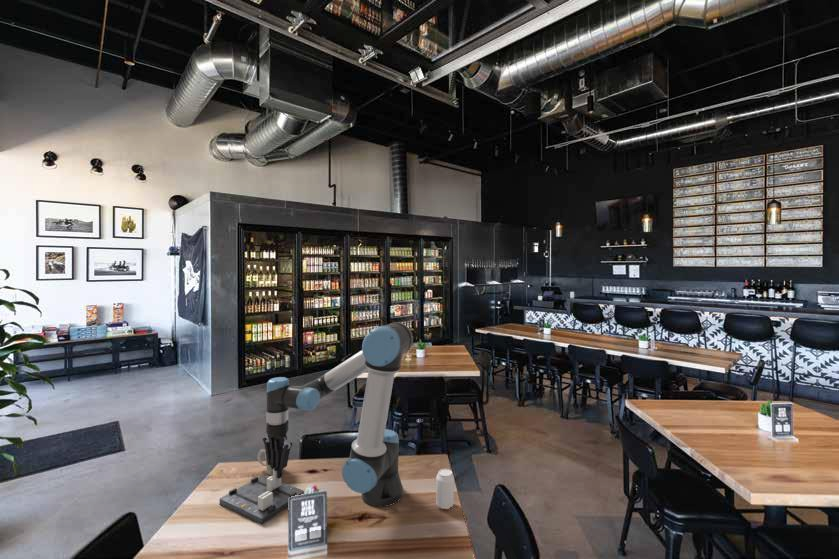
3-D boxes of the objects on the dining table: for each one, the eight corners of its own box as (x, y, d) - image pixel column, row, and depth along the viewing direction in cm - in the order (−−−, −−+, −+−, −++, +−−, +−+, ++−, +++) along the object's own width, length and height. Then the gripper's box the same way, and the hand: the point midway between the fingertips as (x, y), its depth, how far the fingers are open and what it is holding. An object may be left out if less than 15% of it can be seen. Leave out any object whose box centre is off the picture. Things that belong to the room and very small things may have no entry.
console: (304, 496, 137) (304, 488, 137) (261, 524, 121) (262, 515, 121) (263, 479, 147) (263, 472, 147) (219, 504, 131) (219, 495, 131)
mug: (278, 478, 149) (278, 453, 148) (250, 474, 151) (250, 449, 151) (290, 467, 157) (290, 443, 157) (263, 464, 159) (263, 440, 159)
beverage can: (457, 506, 132) (457, 472, 132) (446, 514, 127) (446, 479, 127) (443, 498, 136) (444, 465, 136) (432, 506, 131) (432, 472, 131)
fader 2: (280, 485, 139) (280, 474, 139) (271, 491, 136) (271, 480, 136) (275, 484, 140) (275, 473, 140) (266, 489, 137) (266, 478, 137)
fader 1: (272, 504, 128) (272, 492, 128) (262, 510, 124) (262, 498, 124) (267, 502, 129) (267, 490, 129) (257, 508, 126) (257, 496, 125)
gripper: (298, 421, 137) (297, 485, 137) (273, 414, 143) (273, 476, 143) (281, 428, 130) (281, 496, 130) (256, 421, 136) (256, 485, 137)
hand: (276, 485), depth 137 cm, fingers closed
